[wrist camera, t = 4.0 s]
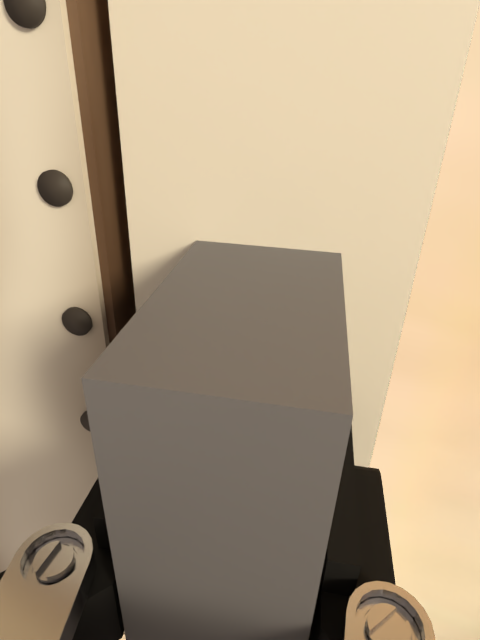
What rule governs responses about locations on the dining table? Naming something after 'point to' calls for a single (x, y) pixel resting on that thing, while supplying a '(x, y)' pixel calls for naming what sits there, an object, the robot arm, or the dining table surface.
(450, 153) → the dining table surface
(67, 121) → the light wooden flat board
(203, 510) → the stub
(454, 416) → the dining table surface
